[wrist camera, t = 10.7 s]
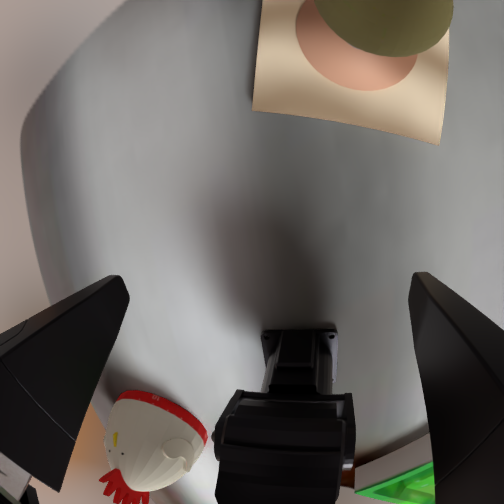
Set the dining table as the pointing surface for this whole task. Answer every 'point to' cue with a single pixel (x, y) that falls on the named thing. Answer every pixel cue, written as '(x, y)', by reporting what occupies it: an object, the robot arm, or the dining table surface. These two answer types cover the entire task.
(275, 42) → the square board
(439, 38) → the light bulb
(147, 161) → the dining table surface
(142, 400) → the kitchen timer
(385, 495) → the tray
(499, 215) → the dining table surface
